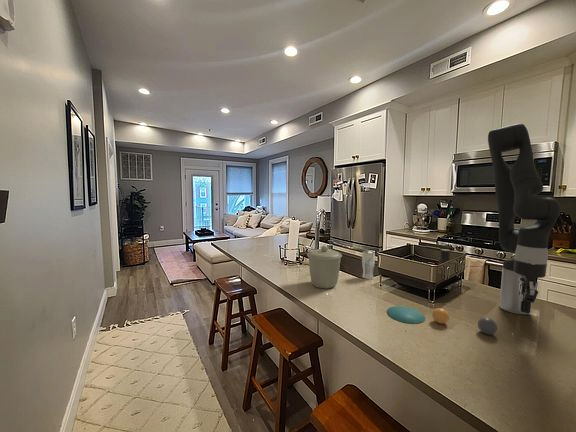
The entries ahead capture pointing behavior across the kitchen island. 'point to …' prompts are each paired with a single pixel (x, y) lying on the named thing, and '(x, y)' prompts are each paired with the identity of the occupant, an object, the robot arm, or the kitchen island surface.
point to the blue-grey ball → (487, 326)
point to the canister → (324, 267)
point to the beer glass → (368, 264)
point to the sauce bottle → (445, 258)
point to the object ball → (440, 315)
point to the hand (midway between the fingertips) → (524, 311)
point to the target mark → (406, 315)
